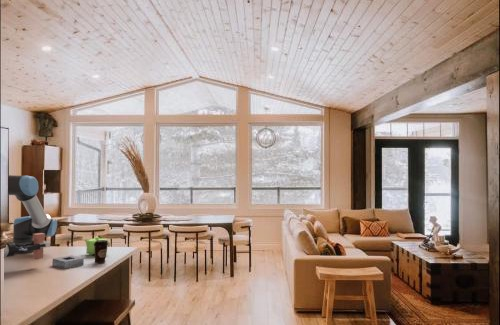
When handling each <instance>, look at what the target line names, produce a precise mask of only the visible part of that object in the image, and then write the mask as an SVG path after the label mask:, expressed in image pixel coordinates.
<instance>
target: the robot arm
mask: <svg viewBox="0 0 500 325" xmlns="http://www.w3.org/2000/svg"><path fill="white" fill-rule="evenodd" d="M7 175H8V174H7ZM39 187H40V186H39V182H38V180H37V179H36V177H34V176H30V175H15V174H14V175H11V174H9V175H8V195H7V196H15V198H16V199H17V200H18V201H20V202H22V204H23V207H25V210H26V211H27V213H28V215H29V216H21V217H20V216H19V217H16V218H15V219H14V220H13V225H12V226H13V232H12V233H13V234H12V237H13V238H12V241H11V242H10V241H9V242H6V243H7V245H6V248H5V249H4V257H3V258H10V257H14V256H16V255H17V254H18V255H19V254H20V255H21V254H31V253H33V250H40V248H43V249H44V248H50V247H51V241H47V240H44V243H39V244H34V238H33V234H36V233H45V238H48V237H53V236H55V234H56V232H57V228H58V220H57V219H56V218H52V217H51V216H50V215H49V214H48V213H46V211H45V209H44V208H43V205H42V204H41V201H40V200H39V198H38V196H37V194H38V192H39V189H40V188H39Z"/></svg>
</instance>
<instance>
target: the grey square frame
mask: <svg viewBox="0 0 500 325" xmlns="http://www.w3.org/2000/svg"><path fill="white" fill-rule="evenodd" d="M84 259H85V258H83V257H80V256H76V255H66V256H60V257H54V258H52V264H51V265H52V267H55V268H60V269H63V270H66V269H71V268H76V267H81V266H84V264H85V263H84Z"/></svg>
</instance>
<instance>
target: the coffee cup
mask: <svg viewBox="0 0 500 325" xmlns="http://www.w3.org/2000/svg"><path fill="white" fill-rule="evenodd" d="M107 242H109V241H108V239H107V240H98V241H95V243H94V252H95V253H94V254H93V255H94V263H95V264H103V263H105V262H106V257H107V254H108V245H109V244H108V243H107Z"/></svg>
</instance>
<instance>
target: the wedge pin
mask: <svg viewBox="0 0 500 325" xmlns="http://www.w3.org/2000/svg"><path fill="white" fill-rule="evenodd" d="M45 238H46V237H45V233H36V234H33V241H34V244H39V243H44V241H45V240H44V239H45ZM32 253H33V254H32V255H33V256H32V259H34V260H40V259H43V257H44V248H40V250H33V252H32Z"/></svg>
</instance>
